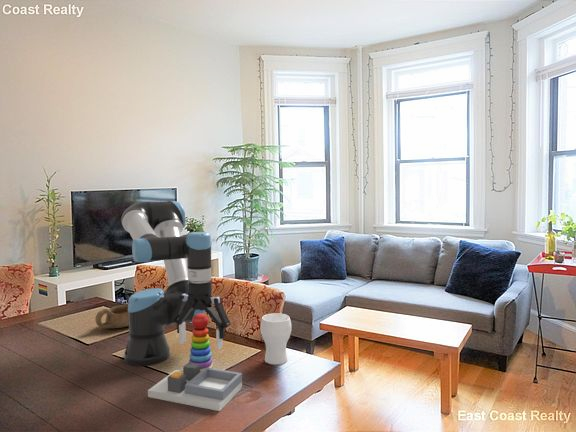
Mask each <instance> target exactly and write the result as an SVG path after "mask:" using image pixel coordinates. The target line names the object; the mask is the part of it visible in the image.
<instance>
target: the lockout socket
mask: <svg viewBox="0 0 576 432" xmlns="http://www.w3.org/2000/svg"><path fill="white" fill-rule="evenodd" d="M207 377H210V378H216V379H222V380H227V381H230V382H229V383H228V384H227V385H226V386H225V387H224V388H223V389H216V388H211V387H205V386H200V385H199V384H200V383H201V382H203V381H204V380H205V379H206V378H207ZM241 382H242V383H243V373H242V372H236V371H231V370H226V369H225V370H224V369H219V368H214V367H213V368H207V367H206V368H205V369H204V370H203V371H201V372H200V373H199V374H198V375H196V376H195V377H194V378H193V379H191V380H190V381H189V382H188V383H186V384H185V393H186V394H191V395H197V396H202V397H207V398H212V399H218V400H224V399H225V398H226V397H227V396H228V395H229V394H230V393H231V392H232V391H233V390H234V389H235V388H236V387H237V386H238V385H239V384H240V383H241Z"/></svg>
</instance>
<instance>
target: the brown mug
mask: <svg viewBox="0 0 576 432" xmlns="http://www.w3.org/2000/svg"><path fill="white" fill-rule="evenodd" d="M104 315H105V317H106V318H105V322H102V318H103V316H104ZM94 319H95V323H96V325H97V326H98V327H99V328H102V329H122V328H126V327H127V328H129V312H128V303H127V304H126V303H125V304H121V305H115V306H113V307H109V308H104V309H100V310H99V311H98V312H97V314H96V315H95V317H94Z"/></svg>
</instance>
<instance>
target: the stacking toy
mask: <svg viewBox="0 0 576 432" xmlns="http://www.w3.org/2000/svg"><path fill="white" fill-rule="evenodd" d="M191 323H192V326H193V327H194V328H193V329H192V336H191V343H190V345H191V348H190V354H189V359H188V363H194V364H200V372H201V371H203V370H204V369H205V368H206V367H207V368H213V369H214V364H213V358H212V354H213V353H212V352H211V349H212V348H211V346H210V344H211V341H210V340H209V338H210V336H209V328H207V327H208V323H209V318H208V316H207V315H206V313H205V314H201V313H200V314H197V315H195V316H194V317H193V320H192V322H191Z"/></svg>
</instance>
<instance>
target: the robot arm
mask: <svg viewBox="0 0 576 432" xmlns="http://www.w3.org/2000/svg"><path fill="white" fill-rule="evenodd" d="M120 220H121V225H122V227H123V229H124V230H125V231H126V232H127V233H129V235H130V237H131V239H132V245H131V251H132V258H133V261H135V263H149V262H158V261H159V262H160V261H163V264H164V268H165V273H166V277H167V282H168V285H167V287H166V288H165V292H164V289H162V288H160V287H156V288H153V287H152V288H146V289H142V290H139V291H136V292H135V293H133V294H132V295H130V296H129V298H128V301H127V304H128V312H129V326H128V335H129V337H128V340H127V344H126V347H125V350H124V354H123V355H124V356H123V357H124V362H125V363H126V364H127V365H128V366H134V367H147V366H154V365H157V364H160V363H163V362H165V361H167V360H168V359H169V358H170V356H171V349H170V346H169V344H168V339H167V338H166V335H165V327H167V326H172V325H176V332H177V334H178V337H179V338H178V341H179V345H183V344H185V343H186V342H187V332H186V330H187V329H186V324H187V323H192V320H193V317H194V316H195V315H197V314H200V313H201V314H205V315H206V313H207V314H208V316H209V317H210V318H211V320H212V321H213V322H214V324H215V325H216V327H217V328H216V329H215V331H216V335H215V336H216V350H218V351H219V350H221V348H223V347H224V344H223V343H224V342H223V341H224V338H225V337H226V329H227V328H229V327H230V326H231V322H230V321H231V320H230V319H229V317H228V314H227V312H226V310H225V308H224V306H223V304H222V298H221V296H219V295H218V296H215V297H213V296H212V293H213V292H212V291H213V289H212V288H213V285H212V284H213V283H212V281H211V280H212V279H213V278H212V277H213V276H212V240H211V239H212V237H211V233H209V232H207V231H193V232H189V233H187V234H183V235H182V234H181V233H182V232H183V230H184V227H185V226H186V223H187V222H186V221H187V219H186V211H185V208H184V207H183V205H182V204H181V202H180V201H175V200H167V201H139V202H136V203H133V204H132V205H129V207H127V208H126V209H125V210H124V211H123V213H122V216H121V219H120Z"/></svg>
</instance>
